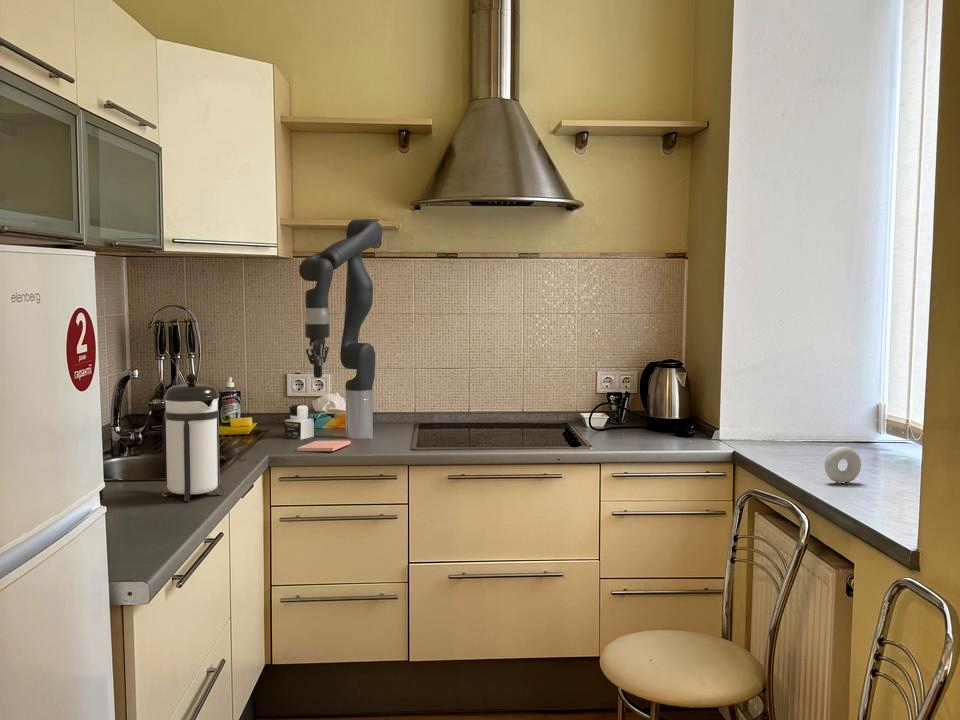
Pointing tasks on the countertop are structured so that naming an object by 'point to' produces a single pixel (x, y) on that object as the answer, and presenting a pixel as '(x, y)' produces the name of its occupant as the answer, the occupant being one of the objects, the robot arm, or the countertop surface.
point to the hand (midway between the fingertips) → (318, 377)
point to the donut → (852, 466)
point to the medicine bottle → (299, 423)
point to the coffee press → (191, 439)
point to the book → (323, 446)
